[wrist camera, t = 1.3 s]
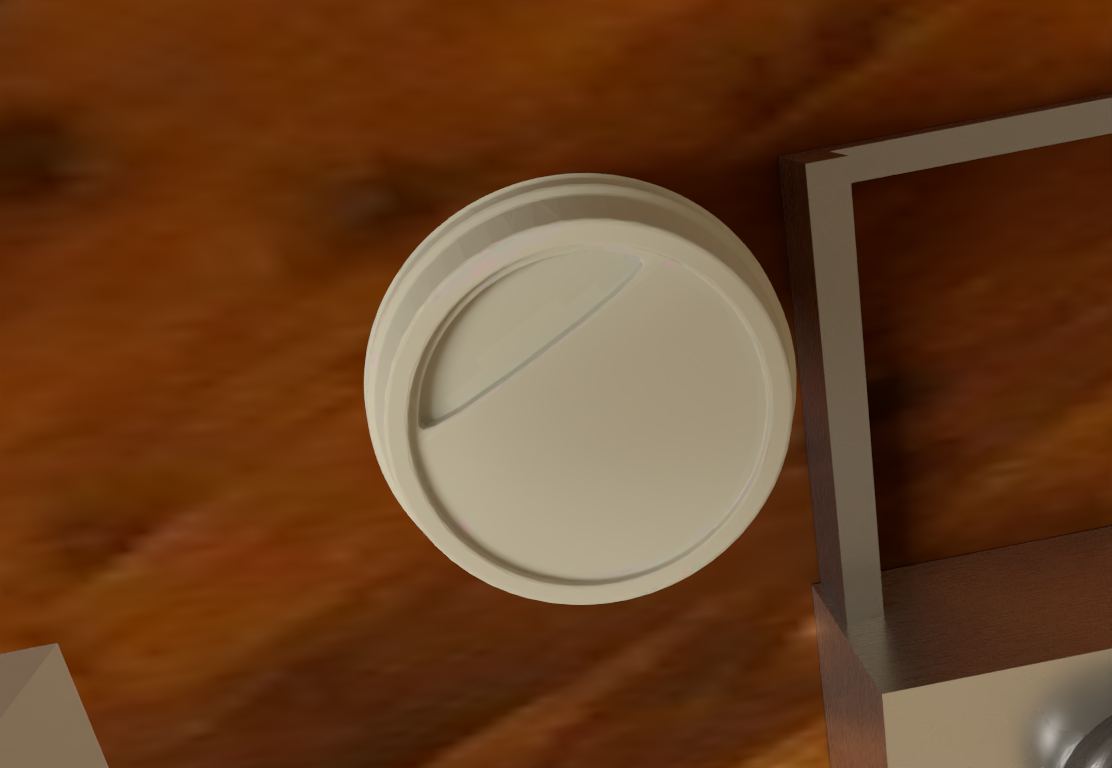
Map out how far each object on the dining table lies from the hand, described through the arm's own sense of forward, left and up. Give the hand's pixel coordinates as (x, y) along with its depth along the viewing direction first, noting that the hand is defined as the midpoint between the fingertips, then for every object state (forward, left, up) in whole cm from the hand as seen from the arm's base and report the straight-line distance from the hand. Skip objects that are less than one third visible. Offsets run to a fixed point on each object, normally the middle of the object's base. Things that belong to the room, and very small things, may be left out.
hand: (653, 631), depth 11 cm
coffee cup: (0, 0, -19) cm, 19 cm away
